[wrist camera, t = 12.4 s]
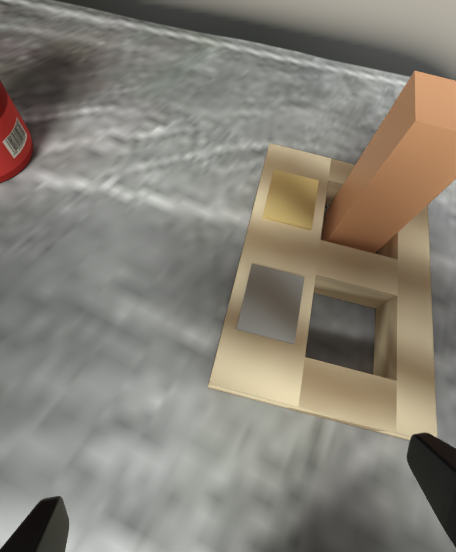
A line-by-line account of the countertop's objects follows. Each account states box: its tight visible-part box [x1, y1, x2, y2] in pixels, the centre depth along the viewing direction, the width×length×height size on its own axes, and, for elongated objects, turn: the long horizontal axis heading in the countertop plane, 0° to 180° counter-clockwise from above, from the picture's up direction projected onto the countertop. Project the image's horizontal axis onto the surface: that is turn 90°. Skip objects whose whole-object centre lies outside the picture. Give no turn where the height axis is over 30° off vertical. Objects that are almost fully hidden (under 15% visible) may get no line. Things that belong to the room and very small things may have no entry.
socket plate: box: [208, 143, 437, 440], centre depth 24 cm, size 20×14×3 cm
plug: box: [321, 71, 456, 254], centre depth 22 cm, size 4×4×13 cm
